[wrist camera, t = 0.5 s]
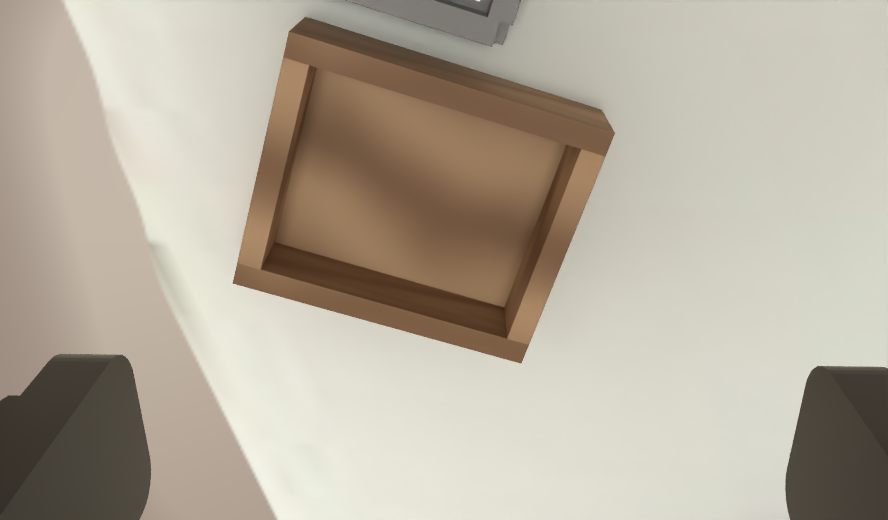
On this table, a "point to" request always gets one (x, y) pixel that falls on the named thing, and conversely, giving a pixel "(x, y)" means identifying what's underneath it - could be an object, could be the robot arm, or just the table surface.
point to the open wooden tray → (416, 191)
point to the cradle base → (455, 16)
